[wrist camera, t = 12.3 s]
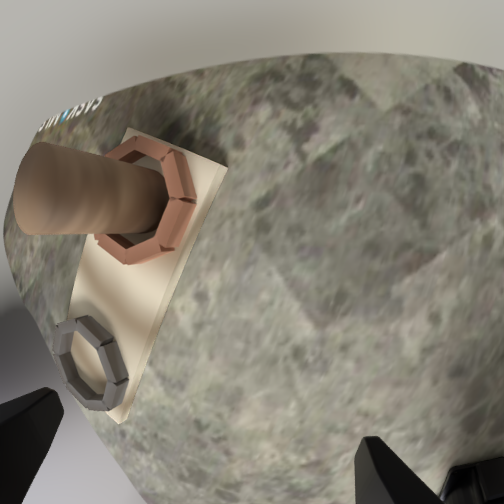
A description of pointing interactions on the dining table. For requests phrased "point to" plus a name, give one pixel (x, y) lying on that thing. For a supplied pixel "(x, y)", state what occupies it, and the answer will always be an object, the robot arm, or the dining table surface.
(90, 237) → the socket rail
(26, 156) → the walnut peg
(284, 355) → the dining table surface
